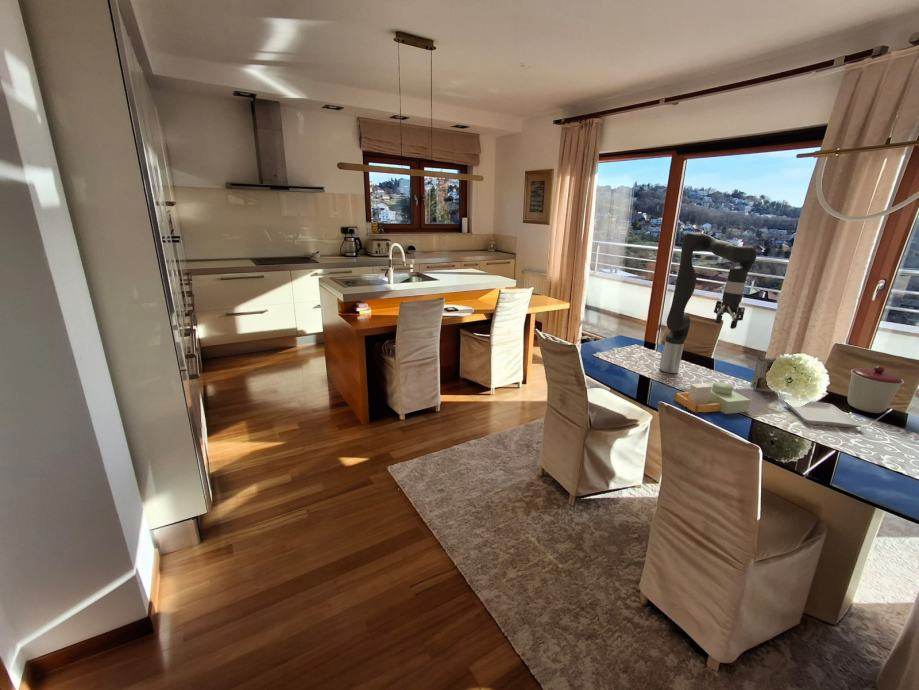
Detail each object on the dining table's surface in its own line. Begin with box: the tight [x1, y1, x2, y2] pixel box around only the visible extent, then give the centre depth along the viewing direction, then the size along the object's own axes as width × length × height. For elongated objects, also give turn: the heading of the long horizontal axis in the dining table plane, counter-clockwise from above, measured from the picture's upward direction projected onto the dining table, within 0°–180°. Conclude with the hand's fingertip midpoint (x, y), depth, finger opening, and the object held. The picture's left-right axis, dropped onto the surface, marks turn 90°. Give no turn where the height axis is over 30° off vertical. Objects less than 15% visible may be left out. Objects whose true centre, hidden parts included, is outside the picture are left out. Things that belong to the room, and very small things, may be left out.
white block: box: [688, 382, 712, 405], centre depth 198 cm, size 4×8×10 cm, turn 103°
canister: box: [847, 365, 905, 414], centre depth 198 cm, size 18×18×21 cm
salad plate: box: [781, 398, 862, 429], centre depth 191 cm, size 21×21×3 cm
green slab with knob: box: [673, 381, 751, 415], centre depth 199 cm, size 20×25×9 cm
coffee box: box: [750, 356, 777, 393], centre depth 217 cm, size 9×6×16 cm
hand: (725, 325), depth 198 cm, fingers open, 8 cm apart
